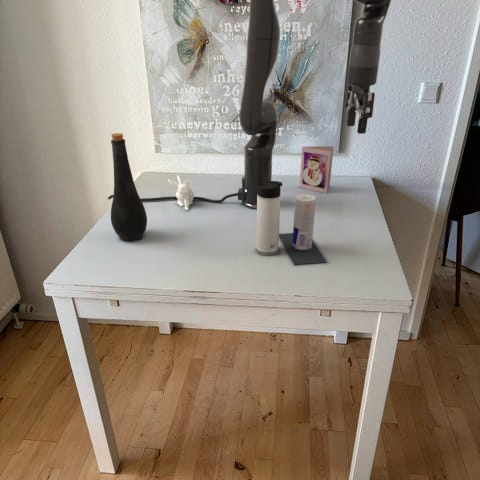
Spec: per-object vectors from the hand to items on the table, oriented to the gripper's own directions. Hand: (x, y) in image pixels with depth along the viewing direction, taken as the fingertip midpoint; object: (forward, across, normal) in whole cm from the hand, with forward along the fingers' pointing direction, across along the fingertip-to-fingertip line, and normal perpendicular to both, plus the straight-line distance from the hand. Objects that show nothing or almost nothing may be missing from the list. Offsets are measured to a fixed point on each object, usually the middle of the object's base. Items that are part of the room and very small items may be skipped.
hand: (355, 129), depth 135 cm
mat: (+30, +10, -16) cm, 36 cm away
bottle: (+30, -6, -65) cm, 72 cm away
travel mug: (+30, +10, -26) cm, 41 cm away
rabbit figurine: (+30, -31, -48) cm, 65 cm away
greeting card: (+30, -39, +3) cm, 50 cm away
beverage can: (+30, +10, -16) cm, 35 cm away
